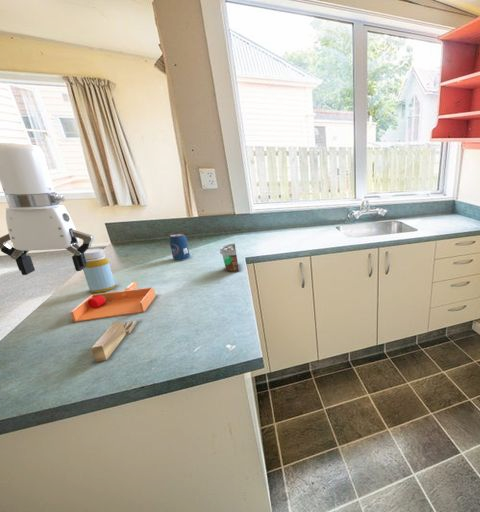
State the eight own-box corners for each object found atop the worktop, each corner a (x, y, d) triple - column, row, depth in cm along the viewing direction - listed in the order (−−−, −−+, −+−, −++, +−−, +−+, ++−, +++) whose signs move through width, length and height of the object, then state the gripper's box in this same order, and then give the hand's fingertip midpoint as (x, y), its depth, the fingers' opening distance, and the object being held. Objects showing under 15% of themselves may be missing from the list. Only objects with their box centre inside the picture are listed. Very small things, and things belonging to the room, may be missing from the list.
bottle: (116, 284, 114) (104, 246, 109) (115, 290, 109) (104, 251, 104) (91, 288, 110) (78, 250, 105) (89, 295, 105) (76, 255, 100)
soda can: (169, 260, 141) (164, 235, 138) (183, 256, 148) (178, 232, 144) (180, 261, 139) (175, 237, 136) (193, 257, 146) (189, 233, 142)
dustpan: (144, 312, 94) (141, 302, 93) (74, 322, 87) (70, 312, 86) (163, 285, 113) (161, 277, 112) (107, 292, 107) (105, 283, 106)
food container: (223, 265, 135) (219, 244, 131) (237, 263, 137) (234, 243, 134) (223, 274, 124) (219, 252, 121) (239, 272, 127) (235, 250, 124)
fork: (91, 362, 70) (86, 348, 69) (122, 325, 86) (118, 312, 85) (110, 359, 71) (106, 345, 70) (137, 322, 87) (134, 310, 86)
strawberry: (96, 299, 93) (107, 294, 97) (86, 298, 94) (98, 293, 97) (99, 309, 94) (110, 303, 98) (89, 308, 95) (101, 302, 98)
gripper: (90, 198, 74) (107, 263, 79) (-7, 199, 67) (18, 269, 73) (73, 202, 67) (93, 273, 72) (-36, 203, 61) (-6, 280, 66)
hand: (55, 271), depth 72 cm, fingers open, 9 cm apart
